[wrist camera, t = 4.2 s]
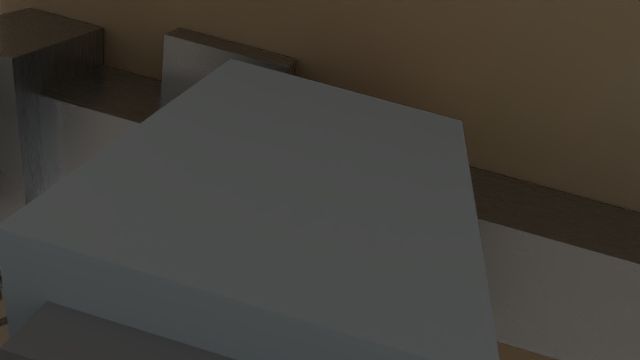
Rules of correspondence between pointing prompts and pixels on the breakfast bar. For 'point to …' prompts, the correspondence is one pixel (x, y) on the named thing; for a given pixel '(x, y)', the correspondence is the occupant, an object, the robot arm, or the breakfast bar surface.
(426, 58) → the breakfast bar surface
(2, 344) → the robot arm
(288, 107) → the carriage
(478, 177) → the guide rail
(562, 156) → the breakfast bar surface
